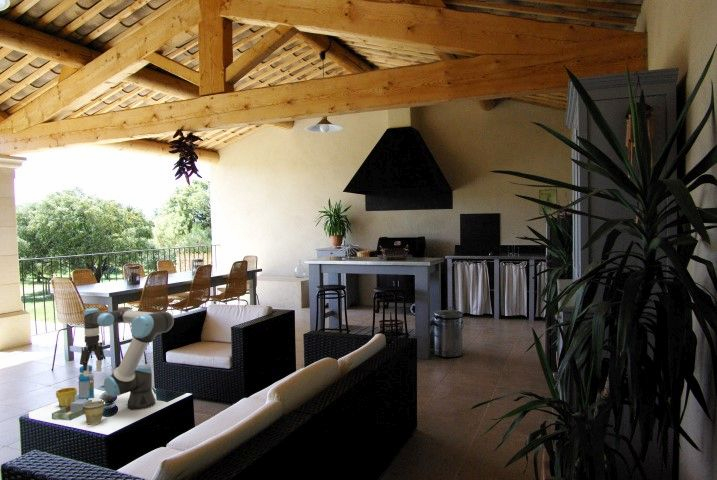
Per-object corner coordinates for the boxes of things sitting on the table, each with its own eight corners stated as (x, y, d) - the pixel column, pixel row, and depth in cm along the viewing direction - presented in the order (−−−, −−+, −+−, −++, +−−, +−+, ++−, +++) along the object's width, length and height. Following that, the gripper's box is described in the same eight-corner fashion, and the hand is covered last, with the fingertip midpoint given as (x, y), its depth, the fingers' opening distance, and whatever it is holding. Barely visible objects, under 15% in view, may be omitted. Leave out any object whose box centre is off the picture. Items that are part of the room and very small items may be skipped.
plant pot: (67, 410, 277) (67, 393, 277) (52, 409, 279) (51, 392, 279) (81, 404, 287) (80, 387, 287) (66, 403, 289) (65, 386, 289)
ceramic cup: (94, 427, 249) (93, 407, 249) (78, 425, 252) (78, 406, 252) (113, 418, 262) (113, 399, 262) (98, 416, 264) (98, 398, 264)
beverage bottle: (80, 402, 290) (79, 369, 290) (77, 398, 297) (76, 366, 297) (95, 398, 296) (95, 366, 296) (92, 395, 302) (91, 363, 302)
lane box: (104, 406, 281) (104, 399, 282) (70, 422, 257) (70, 414, 257) (87, 405, 284) (87, 398, 284) (51, 421, 259) (51, 413, 259)
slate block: (92, 408, 274) (92, 399, 274) (82, 412, 268) (82, 403, 268) (80, 407, 276) (80, 399, 276) (70, 412, 269) (70, 403, 269)
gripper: (100, 331, 292) (100, 368, 292) (71, 338, 271) (72, 378, 271) (110, 331, 291) (111, 368, 291) (83, 339, 269) (83, 379, 269)
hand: (92, 373), depth 281 cm, fingers open, 9 cm apart
